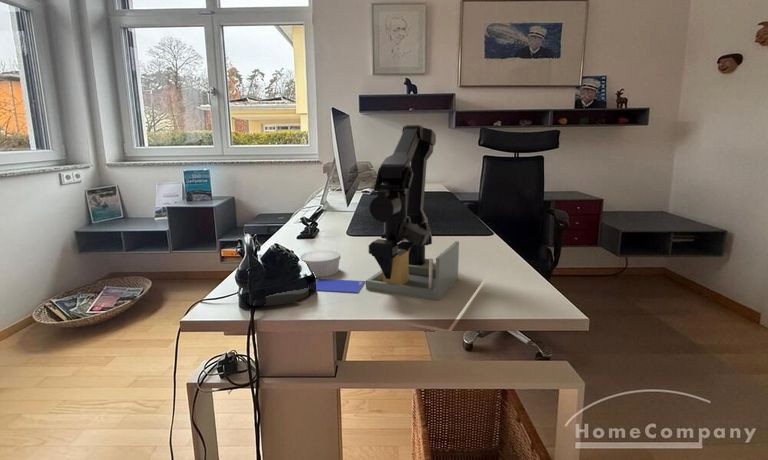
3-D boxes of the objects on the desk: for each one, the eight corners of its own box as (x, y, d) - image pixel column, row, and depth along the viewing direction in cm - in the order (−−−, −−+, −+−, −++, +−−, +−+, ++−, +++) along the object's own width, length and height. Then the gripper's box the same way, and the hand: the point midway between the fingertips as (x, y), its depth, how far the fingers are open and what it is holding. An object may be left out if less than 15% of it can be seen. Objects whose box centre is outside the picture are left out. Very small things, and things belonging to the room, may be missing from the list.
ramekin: (293, 272, 119) (292, 254, 118) (326, 264, 126) (326, 247, 125) (313, 283, 111) (312, 264, 110) (348, 273, 118) (348, 255, 117)
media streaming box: (246, 310, 96) (244, 297, 95) (247, 287, 109) (246, 276, 108) (311, 302, 99) (310, 290, 99) (304, 281, 113) (304, 270, 112)
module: (391, 277, 112) (390, 247, 110) (408, 280, 110) (408, 249, 108) (382, 283, 108) (382, 252, 106) (400, 286, 106) (400, 254, 104)
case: (392, 271, 119) (392, 234, 117) (457, 280, 111) (458, 241, 109) (366, 290, 105) (365, 249, 103) (438, 302, 97) (439, 258, 95)
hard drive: (365, 280, 110) (319, 278, 112) (357, 291, 102) (308, 289, 104) (365, 286, 110) (319, 283, 112) (358, 297, 102) (309, 295, 104)
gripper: (411, 223, 93) (411, 290, 97) (438, 209, 110) (437, 266, 113) (366, 219, 98) (368, 283, 102) (399, 206, 114) (399, 261, 118)
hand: (395, 273), depth 108 cm, fingers open, 9 cm apart
